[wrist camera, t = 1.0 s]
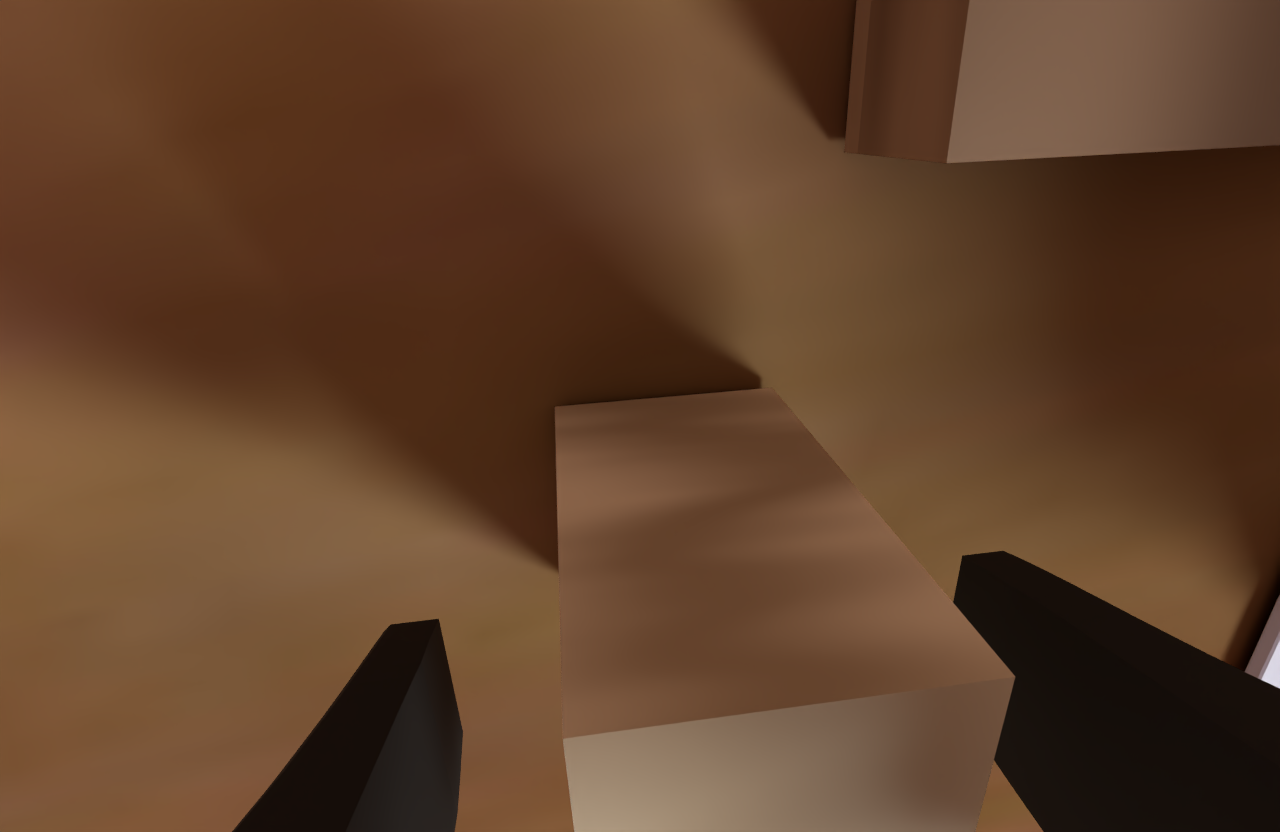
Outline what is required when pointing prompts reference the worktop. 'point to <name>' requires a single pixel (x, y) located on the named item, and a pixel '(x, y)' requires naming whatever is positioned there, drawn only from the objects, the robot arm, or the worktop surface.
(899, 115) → the walnut holder
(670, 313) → the worktop surface
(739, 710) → the birch post
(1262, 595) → the worktop surface
